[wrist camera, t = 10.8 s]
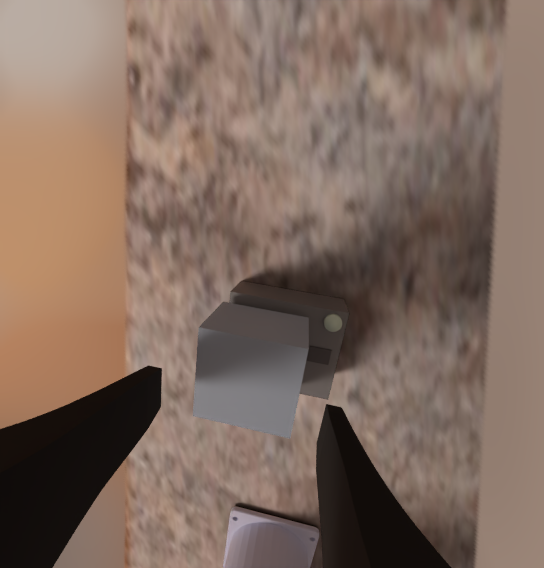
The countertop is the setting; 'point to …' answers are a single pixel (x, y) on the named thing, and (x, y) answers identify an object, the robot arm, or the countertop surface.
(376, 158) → the countertop surface
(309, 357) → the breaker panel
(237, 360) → the cap
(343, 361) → the countertop surface
